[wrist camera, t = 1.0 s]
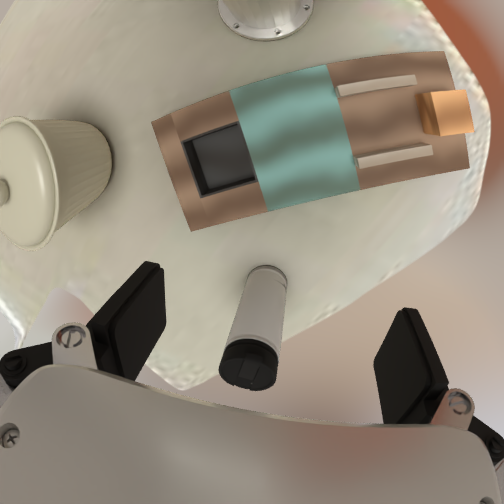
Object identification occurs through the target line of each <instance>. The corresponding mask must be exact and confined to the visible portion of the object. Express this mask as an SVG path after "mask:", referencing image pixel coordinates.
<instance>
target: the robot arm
mask: <svg viewBox="0 0 504 504" xmlns="http://www.w3.org/2000/svg"><path fill="white" fill-rule="evenodd" d="M305 8H307V9H308V10H305ZM312 9H313V0H218V10H219V14H220V16H221V18H222V20H223V21H224V23H225V24H226V25H227V26H228V27H229V28H230V29H231V30H232V31H234V32H235V33H237V34H238V35H241V36H243V37H245V38H249V39H253V40H260V41H269V40H277V39H282V38H285V37H287V36H290V35H292V34H293V33H295V32H297V31H298V30H300V29H301V28H302V27H303V26H304V25H305V24H306V22H307V21H308V20H309V18H310V16H311V13H312ZM237 26H239V28H237V29H236V27H237ZM278 32H279V33H280V35H277V33H278ZM165 326H166V307H165V286H164V269H163V268H160V265H159V264H158V263H153V262H148V261H145V262H144V263H143V264H142V265H141V266H140V267H139V268H138V269H137V270H136V271H135V272H134V273H133V274H132V275H131V276H130V277H129V278H128V280H127V281H126V282H125V283H124V284H123V285H122V286H121V287H120V288H119V289H118V290H117V291H116V292H115V293H114V294H113V295H112V296H111V297H110V299H109V300H108V301H107V302H106V303H105V304H104V305H103V306H102V307H101V309H100V310H99V311H98V312H97V313H96V314H95V315H94V317H93V318H92V319H91V320H90V321H89V322H88V323H87V325H86V326H85V325H82V324H80V323H67V324H64V325H62V326H60V327H59V328H58V329H56V330H55V332H54V333H53V336H52V342H48V343H44V344H40V345H35V346H31V347H26V348H22V349H17V350H13V351H10V352H8V353H7V354H5V355H4V356H3V357H2V358H1V360H0V504H504V439H503V437H502V436H500V435H499V434H498V433H497V432H495V431H494V430H492V429H491V428H490V427H489V426H487V425H486V424H484V423H483V422H482V421H480V420H479V419H477V418H476V417H475V416H473V413H474V409H475V406H474V402H473V400H472V398H471V397H470V396H469V395H468V394H467V393H466V392H465V391H463V390H461V389H457V388H454V389H450V390H449V389H448V386H447V385H448V384H449V381H448V379H447V376H446V374H445V371H444V369H443V366H442V364H441V362H440V359H439V356H438V354H437V351H436V349H435V347H434V344H433V342H432V340H431V338H430V336H429V333H428V331H427V329H426V327H425V324H424V322H423V320H422V318H421V316H420V314H419V312H418V310H417V309H412V308H403V309H402V310H399V311H398V312H397V314H396V316H395V318H394V321H393V323H392V325H391V327H390V329H389V331H388V333H387V335H386V337H385V339H384V341H383V343H382V345H381V347H380V349H379V351H378V353H377V355H376V357H375V359H374V371H375V376H376V381H377V387H378V392H379V398H380V404H381V410H382V415H383V422H384V424H370V423H369V424H368V423H347V422H334V421H322V420H312V419H303V418H295V417H287V416H280V415H273V414H267V413H261V412H255V411H249V410H244V409H239V408H234V407H229V406H225V405H220V404H215V403H211V402H207V401H203V400H199V399H195V398H191V397H187V396H183V395H179V394H175V393H172V392H169V391H165V390H162V389H158V388H155V387H151V386H148V385H145V384H141V383H138V382H135V380H136V378H137V376H138V374H139V372H140V371H141V369H142V367H143V366H144V364H145V362H146V360H147V358H148V357H149V355H150V353H151V352H152V350H153V348H154V346H155V345H156V343H157V341H158V339H159V338H160V336H161V334H162V333H163V331H164V329H165Z"/></svg>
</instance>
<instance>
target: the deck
mask: <svg viewBox="0 0 504 504" xmlns="http://www.w3.org/2000/svg"><path fill="white" fill-rule="evenodd" d="M450 90H455V86H454V82H453V79H452V75H451V72H450V68H449V65H448V62H447V59H446V56H445V53H444V51H433V52H414V53H401V54H390V55H381V56H373V57H366V58H359V59H353V60H347V61H341V62H335V63H330V64H325V65H320V66H316V67H311V68H307V69H302V70H298V71H294V72H290V73H286V74H282V75H279V76H275V77H271V78H268V79H264V80H261V81H258V82H254V83H251V84H248V85H245V86H242V87H239V88H236V89H233V90H230V91H227V92H224V93H221V94H218V95H216V96H213V97H210V98H207V99H205V100H202V101H200V102H197V103H195V104H192V105H190V106H187V107H185V108H182V109H180V110H177V111H175V112H173V113H170V114H168V115H166V116H164V117H161V118H159V119H157V120H155V121H153V122H151V123H152V126H153V129H154V132H155V135H156V138H157V141H158V144H159V147H160V149H161V152H162V155H163V158H164V161H165V164H166V166H167V169H168V172H169V175H170V177H171V180H172V183H173V186H174V188H175V191H176V194H177V196H178V199H179V202H180V204H181V207H182V210H183V212H184V215H185V217H186V220H187V223H188V225H189V228H190V230H191V232H192V231H195V230H199V229H203V228H206V227H210V226H214V225H217V224H221V223H225V222H229V221H233V220H237V219H240V218H244V217H248V216H252V215H256V214H260V213H264V212H268V211H272V210H276V209H280V208H284V207H288V206H292V205H297V204H301V203H305V202H309V201H313V200H318V199H322V198H326V197H331V196H335V195H340V194H344V193H348V192H353V191H357V190H362V189H367V188H371V187H376V186H381V185H385V184H390V183H395V182H400V181H405V180H410V179H415V178H420V177H425V176H430V175H435V174H441V173H446V172H451V171H457V170H462V169H468V168H470V167H469V159H468V151H467V144H466V138H465V133H462V134H454V135H447V136H436V135H430V134H425V133H424V132H423V128H422V123H421V119H420V114H419V110H418V106H417V102H416V98H415V95H416V94H422V93H428V92H438V91H450Z"/></svg>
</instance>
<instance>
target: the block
mask: <svg viewBox="0 0 504 504" xmlns="http://www.w3.org/2000/svg"><path fill="white" fill-rule="evenodd" d="M415 98H416V102H417V106H418V110H419V114H420V119H421V123H422V128H423V132H424V133H425V134H430V135H436V136H447V135H454V134H462V133H470V132H474V127H473V121H472V116H471V111H470V106H469V102H468V98H467V93H466V90H450V91H438V92H428V93H422V94H416V95H415Z"/></svg>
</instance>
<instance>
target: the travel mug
mask: <svg viewBox="0 0 504 504" xmlns="http://www.w3.org/2000/svg"><path fill="white" fill-rule="evenodd" d="M286 290H287V280H286V277H285V275H284V274H283V273H282V272H281V271H280V270H279V269H277V268H275V267H273V266H260V267H257V268H255V269H254V270H252V271H251V273H250V274H249V276H248V278H247V282H246V285H245V288H244V291H243V294H242V297H241V300H240V303H239V306H238V309H237V312H236V315H235V318H234V321H233V324H232V327H231V330H230V333H229V336H228V339H227V343H226V346H225V349H224V353H223V357H222V359H221V362H220V365H219V374H220V376H221V377H222V378H223V379H224V380H225V381H226V382H227V383H229V384H231V385H233V386H234V385H236V386H238V387H241V388H245V389H250V390H251V391H261V390H265V389H268V388H270V387H271V386H273V385H274V383H275V381H276V376H277V367H278V363H279V355H280V348H281V339H282V330H283V321H284V311H285V301H286Z"/></svg>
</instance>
